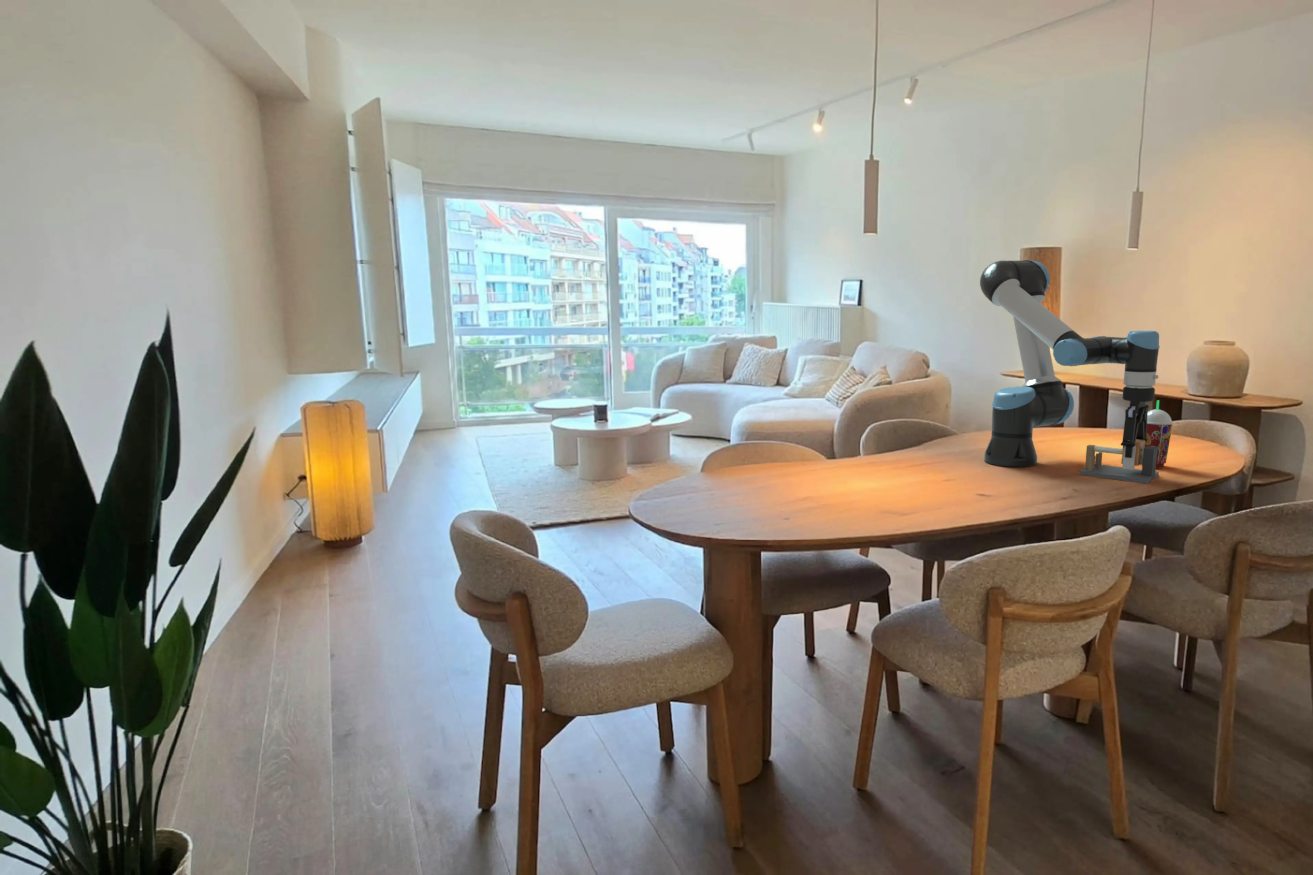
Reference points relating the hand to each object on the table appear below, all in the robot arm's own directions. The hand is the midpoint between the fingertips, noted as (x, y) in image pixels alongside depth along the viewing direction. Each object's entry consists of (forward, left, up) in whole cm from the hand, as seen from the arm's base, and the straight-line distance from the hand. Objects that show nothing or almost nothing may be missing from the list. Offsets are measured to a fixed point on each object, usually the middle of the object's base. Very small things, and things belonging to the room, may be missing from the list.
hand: (1132, 466), depth 214 cm
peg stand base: (-3, 0, -3) cm, 4 cm away
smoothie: (+1, +19, -3) cm, 19 cm away
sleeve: (0, 0, +1) cm, 1 cm away
